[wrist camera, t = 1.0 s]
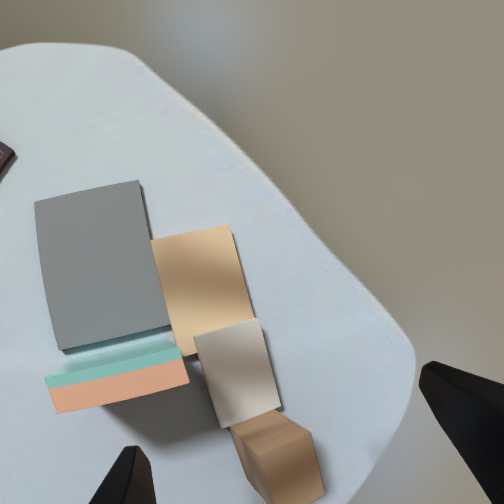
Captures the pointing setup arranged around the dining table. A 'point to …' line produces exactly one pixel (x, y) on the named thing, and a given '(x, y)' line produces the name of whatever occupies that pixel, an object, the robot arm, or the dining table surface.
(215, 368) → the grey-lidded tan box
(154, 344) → the tile
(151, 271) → the plate
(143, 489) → the robot arm
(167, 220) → the dining table surface
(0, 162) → the chocolate bar
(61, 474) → the dining table surface
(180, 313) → the rest
